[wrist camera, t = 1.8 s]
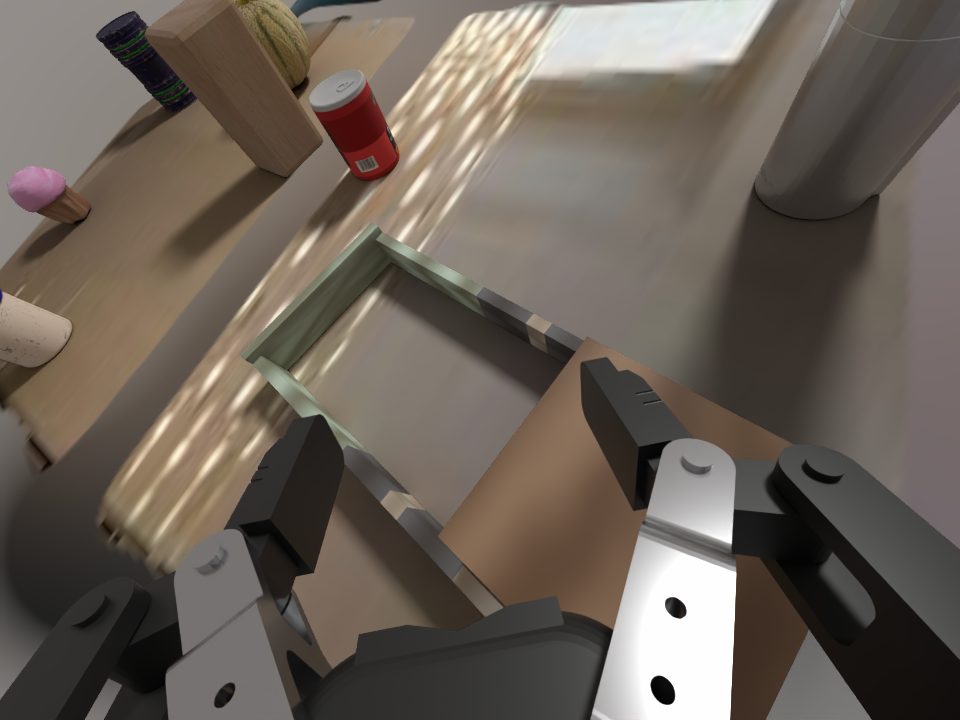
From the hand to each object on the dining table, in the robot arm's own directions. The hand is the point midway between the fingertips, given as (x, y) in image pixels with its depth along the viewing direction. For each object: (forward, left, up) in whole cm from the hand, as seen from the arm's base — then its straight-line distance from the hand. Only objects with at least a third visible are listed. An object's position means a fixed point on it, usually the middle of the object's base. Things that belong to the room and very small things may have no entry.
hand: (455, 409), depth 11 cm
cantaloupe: (+38, -86, -22) cm, 96 cm away
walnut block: (-6, +3, -22) cm, 22 cm away
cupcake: (+84, -63, -22) cm, 107 cm away
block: (+34, -60, -22) cm, 72 cm away
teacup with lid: (+73, -29, -22) cm, 81 cm away
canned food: (+17, -50, -22) cm, 57 cm away
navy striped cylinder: (+71, -99, -22) cm, 124 cm away
